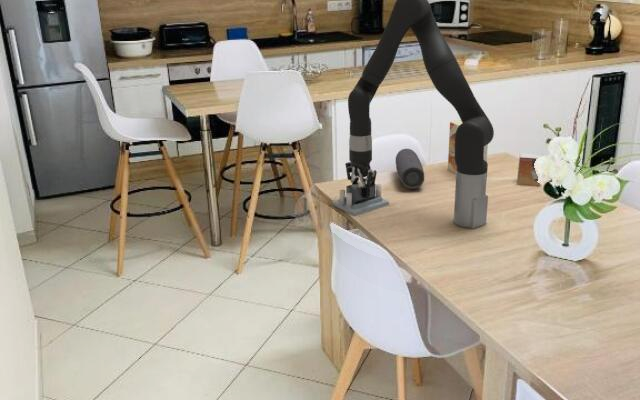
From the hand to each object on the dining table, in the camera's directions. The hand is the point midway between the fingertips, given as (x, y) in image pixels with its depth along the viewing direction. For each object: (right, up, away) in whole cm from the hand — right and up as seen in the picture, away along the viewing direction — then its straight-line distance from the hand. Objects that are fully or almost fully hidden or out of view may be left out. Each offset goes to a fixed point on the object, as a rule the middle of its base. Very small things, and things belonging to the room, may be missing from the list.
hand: (360, 195), depth 218 cm
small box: (+62, +4, +17) cm, 65 cm away
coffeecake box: (+42, +8, +28) cm, 51 cm away
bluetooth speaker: (+20, +5, +22) cm, 30 cm away
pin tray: (0, -3, +1) cm, 4 cm away
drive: (0, -2, +1) cm, 2 cm away
